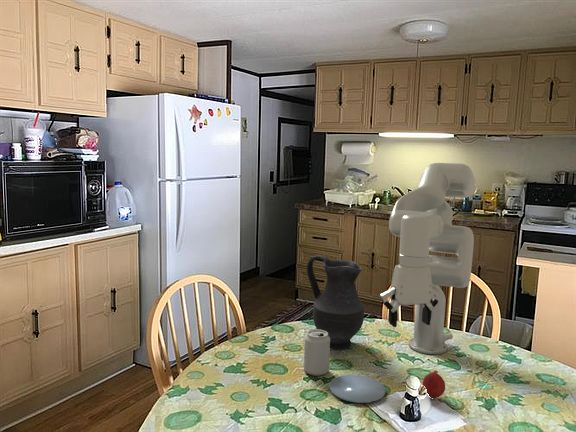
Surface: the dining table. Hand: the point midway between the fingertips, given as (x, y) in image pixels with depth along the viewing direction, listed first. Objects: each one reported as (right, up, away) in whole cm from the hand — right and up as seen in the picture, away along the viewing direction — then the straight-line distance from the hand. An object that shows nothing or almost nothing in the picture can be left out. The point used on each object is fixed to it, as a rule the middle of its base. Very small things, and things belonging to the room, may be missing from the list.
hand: (409, 324), depth 128 cm
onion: (+6, -20, 0) cm, 21 cm away
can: (-24, -17, +14) cm, 33 cm away
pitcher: (-17, -15, +36) cm, 42 cm away
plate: (-14, -19, +3) cm, 23 cm away
